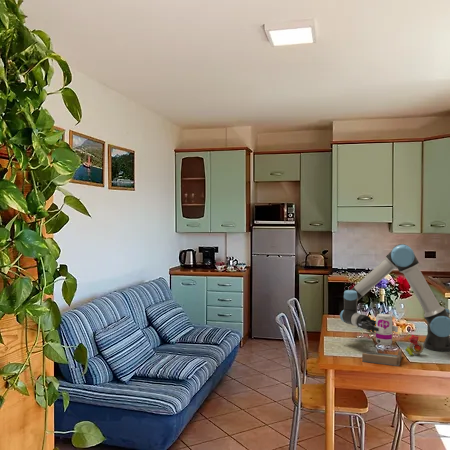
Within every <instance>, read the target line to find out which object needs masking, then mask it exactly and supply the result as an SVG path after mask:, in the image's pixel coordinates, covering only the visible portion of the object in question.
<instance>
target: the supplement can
mask: <svg viewBox="0 0 450 450" xmlns="http://www.w3.org/2000/svg"><path fill="white" fill-rule="evenodd" d="M375 317H376V326H378V327H382V328H384V334H382V333H379V332H375V342H376V344H378V345H381V346H390V345H392V344H393V331H392V325H393V317H392V315H391V314H389V313H377V314H376V316H375Z"/></svg>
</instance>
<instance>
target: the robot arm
mask: <svg viewBox="0 0 450 450" xmlns="http://www.w3.org/2000/svg"><path fill="white" fill-rule="evenodd" d="M384 258H385V259H384V260H382V261H381V263H379V264H378V265H377V266H375V268H374V269H372V270H371V271H370V272H369V273H368V274H367V275H366V276H364V277H363V278H362V279H360V280H359V282H357V284H355V285H354V286H353V287H352V288H351V289H347V290H344V292H343V310H341V312H340V313H339V318H340V320H341V321H342V322H343V323H346V324H347V325H351V326H354V327H357V329H358V328H361V329H362V330H366V331H367V330H368V331H367V332H369V331H370V330H372V332H371V333H376V332H379V333H382V334H384V328H382V327H378V326H375V324H376V321H374V320H371V319H370V317H371V316H368V315H365V314H363V313H359V312H358V301H359V300H361V298H363V297H364V296H365V295H366V294H367V293H368V292H370V291H371V290H372V289H373V288H375V287H376V285H377V284H379V283H380V282H381V281H382V280H384V278H386V277H387V276H388V275H389V274H390V273H392V271H393V270H395V269H397V270H398V273H401V274H403V275H404V277H405V279H406V281H407V283H408V284H409V286H410V288H411V290H412V292H413V293H414V295H415V297H416V299H417V300H418V302H419V304H420V307H422V310H423V311H424V314H423V317H424V319H425V321H426V324H427V329H426V330H427V332H426V333H427V334H426V336H425V340H424V342H423V347H424V348H426V349H427V350H431V351H436V352H450V309H449V308H445V307H443V306H441V305H440V303H439V301H438V300H437V297H436V296H435V294H434V292H433V291H432V289H431V287H430V285H429V283H428V282H427V280H426V278H425V276H424V274H423V273H422V271H421V270H420V268H419V264H420V262H419V260H418V258H417V255H415V252H414V250H413V248H411V246H409V245H407V244H404V243H399V244H396V245H394V246H393V248H392V249H391V250H390V252H389V253H388V254H386V256H385V257H384ZM398 328H399V327H398V326H396V325H393V324H392V332H395V333H398V332H399V329H398ZM374 331H376V332H374Z"/></svg>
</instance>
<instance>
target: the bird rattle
mask: <svg viewBox="0 0 450 450" xmlns="http://www.w3.org/2000/svg"><path fill="white" fill-rule="evenodd" d="M419 338H420V337H419V336H418V335H414V334H411V337H408V340H409V343H410V344H409V345H407V347H406V349H405V352H406V353H407V354H408V355H409V356H413V357H414V355H418V356H420V355H421V353H422V352H423V350H424V348H425V347H424V343H422V342H421V341H419Z"/></svg>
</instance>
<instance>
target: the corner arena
mask: <svg viewBox="0 0 450 450" xmlns="http://www.w3.org/2000/svg"><path fill="white" fill-rule="evenodd" d="M402 353H403V350H402V348H399V349H398V353H397V354H392V353H391V354H390V353H382V352H372V351H367V352H366V353H364V352H363V353H361V355H362V357H361V359H362V363H370V364H377V365H378V364H379V365H386V366H393V367H394V366H395V367H400V365H401V360H402V356H403V355H402Z"/></svg>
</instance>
